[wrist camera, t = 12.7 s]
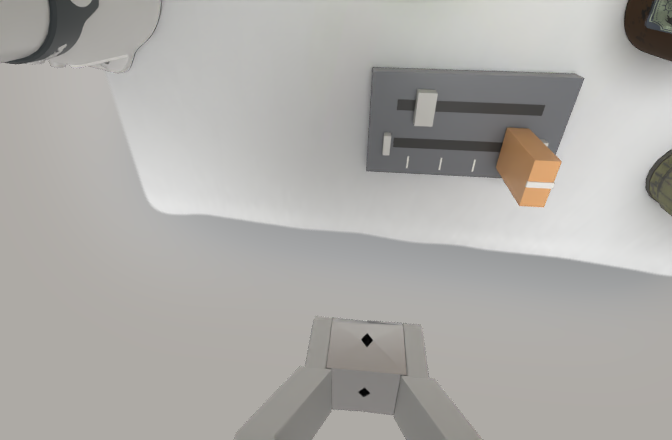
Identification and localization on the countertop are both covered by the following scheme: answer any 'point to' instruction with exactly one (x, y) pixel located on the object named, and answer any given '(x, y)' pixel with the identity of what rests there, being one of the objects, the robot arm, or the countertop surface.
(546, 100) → the console
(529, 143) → the fader lever
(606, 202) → the countertop surface
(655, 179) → the thermos
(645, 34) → the olive oil
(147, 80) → the countertop surface
